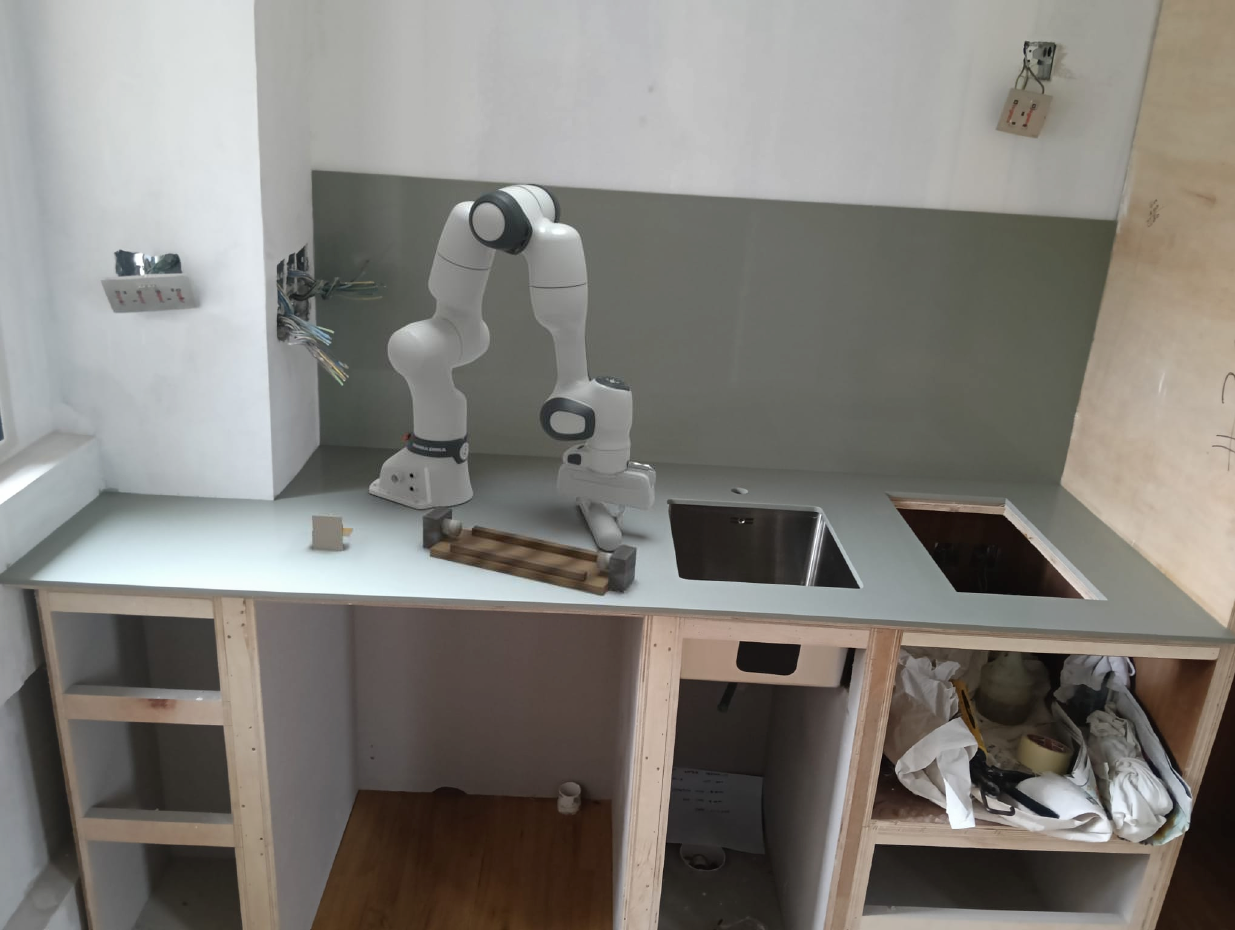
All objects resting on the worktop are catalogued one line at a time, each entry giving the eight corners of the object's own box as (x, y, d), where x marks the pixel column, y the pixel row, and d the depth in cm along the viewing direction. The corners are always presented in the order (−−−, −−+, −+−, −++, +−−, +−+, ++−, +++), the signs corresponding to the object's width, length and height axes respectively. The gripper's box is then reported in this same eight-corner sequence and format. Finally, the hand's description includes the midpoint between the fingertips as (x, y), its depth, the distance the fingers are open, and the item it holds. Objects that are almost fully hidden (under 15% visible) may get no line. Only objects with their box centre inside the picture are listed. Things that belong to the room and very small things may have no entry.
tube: (629, 535, 192) (603, 486, 215) (604, 528, 191) (580, 480, 213) (619, 559, 194) (594, 508, 216) (594, 552, 192) (571, 501, 215)
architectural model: (317, 543, 190) (316, 508, 188) (353, 546, 190) (352, 510, 188) (312, 551, 187) (310, 515, 184) (349, 553, 187) (348, 517, 184)
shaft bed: (416, 552, 188) (415, 521, 186) (445, 531, 198) (445, 501, 196) (618, 598, 176) (620, 565, 173) (638, 574, 185) (641, 542, 183)
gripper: (661, 461, 198) (656, 524, 203) (567, 444, 205) (564, 506, 209) (651, 471, 193) (646, 535, 198) (555, 453, 199) (552, 516, 204)
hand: (603, 520), depth 204 cm, fingers closed on tube, 4 cm apart
